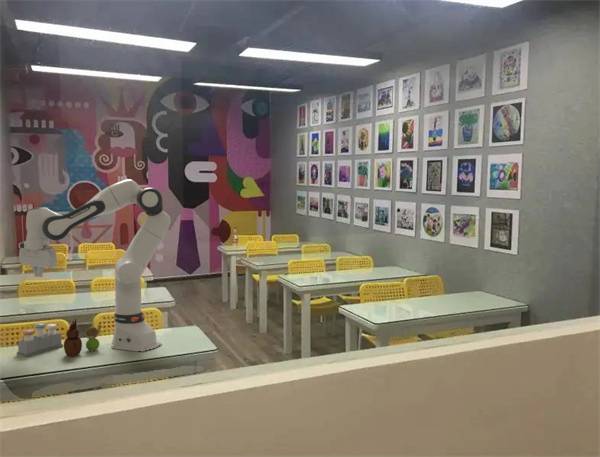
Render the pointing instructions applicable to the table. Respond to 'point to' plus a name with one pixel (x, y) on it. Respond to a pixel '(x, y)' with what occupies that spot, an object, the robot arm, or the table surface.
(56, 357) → the table surface
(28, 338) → the terracotta plug
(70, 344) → the wooden figurine
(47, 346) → the socket board
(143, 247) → the robot arm
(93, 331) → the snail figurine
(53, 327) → the cream plug
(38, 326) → the slate plug
